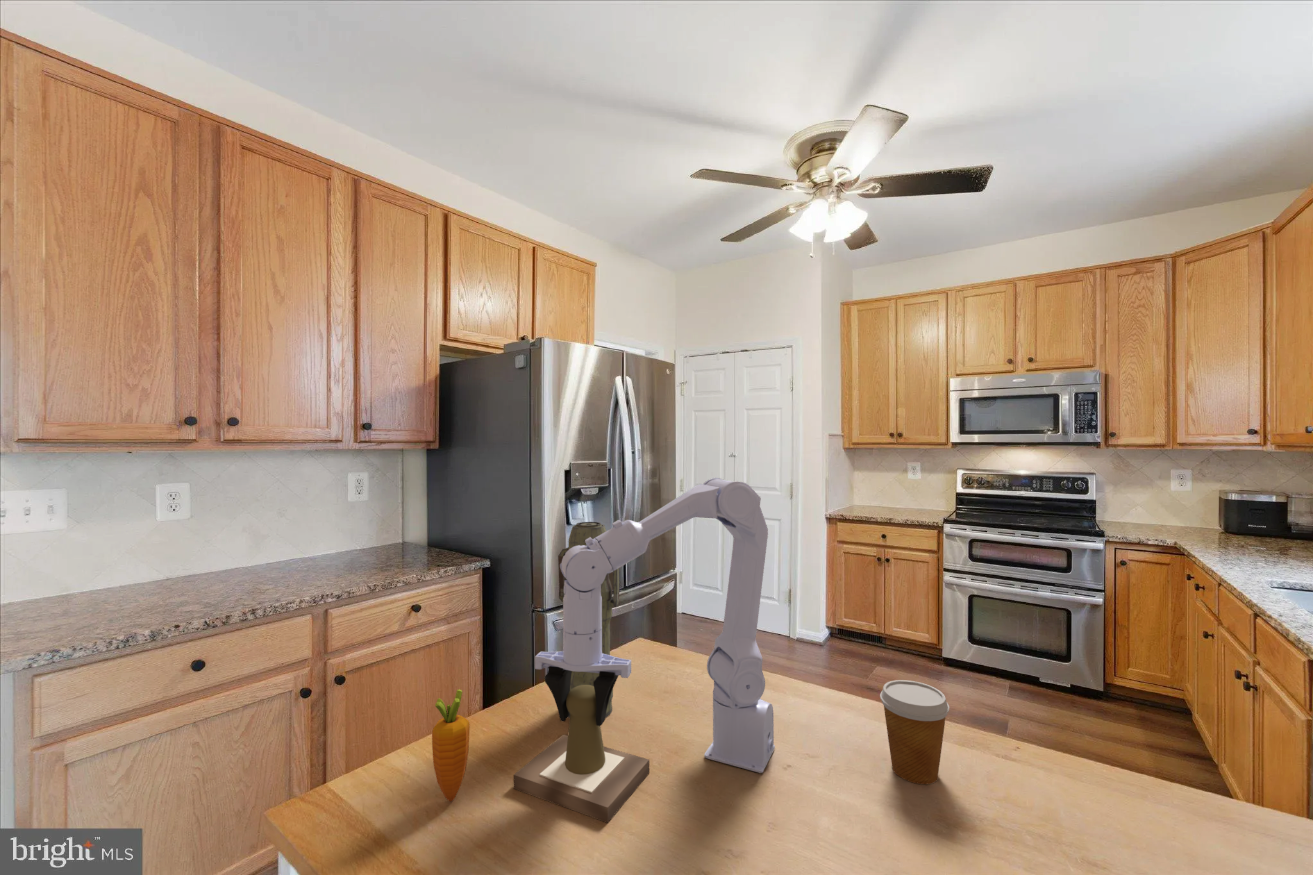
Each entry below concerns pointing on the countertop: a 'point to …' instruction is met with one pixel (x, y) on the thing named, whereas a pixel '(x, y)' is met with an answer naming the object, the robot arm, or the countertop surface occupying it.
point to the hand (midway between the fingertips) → (582, 720)
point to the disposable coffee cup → (914, 728)
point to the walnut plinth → (582, 781)
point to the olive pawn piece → (583, 732)
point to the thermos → (578, 538)
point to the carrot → (450, 747)
